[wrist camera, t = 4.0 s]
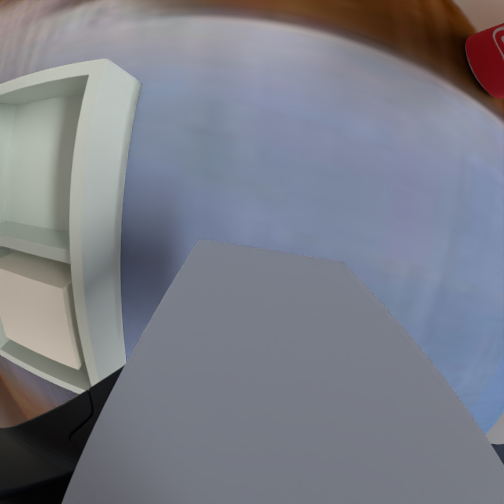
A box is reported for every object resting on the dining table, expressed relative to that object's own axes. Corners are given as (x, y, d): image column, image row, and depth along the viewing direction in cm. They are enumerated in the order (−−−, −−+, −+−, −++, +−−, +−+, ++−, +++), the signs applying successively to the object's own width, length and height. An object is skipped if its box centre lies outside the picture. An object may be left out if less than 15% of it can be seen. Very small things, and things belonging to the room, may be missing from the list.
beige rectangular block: (97, 342, 18) (78, 369, 15) (28, 317, 17) (6, 337, 14) (89, 267, 16) (62, 288, 13) (16, 249, 16) (-11, 264, 12)
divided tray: (126, 362, 20) (105, 403, 15) (25, 326, 19) (-3, 353, 14) (141, 83, 14) (106, 58, 9) (20, 98, 13) (-20, 92, 8)
